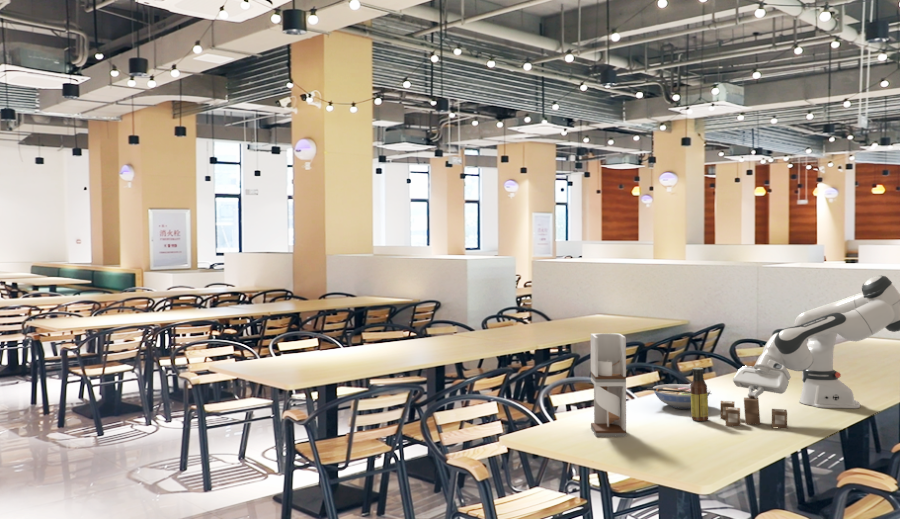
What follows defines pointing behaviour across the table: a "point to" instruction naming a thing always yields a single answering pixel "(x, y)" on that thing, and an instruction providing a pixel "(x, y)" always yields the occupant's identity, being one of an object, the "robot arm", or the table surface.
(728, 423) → the white-paneled wooden block
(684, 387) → the ramen bowl
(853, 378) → the table surface
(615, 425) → the spiral tower model
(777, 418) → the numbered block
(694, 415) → the sauce bottle
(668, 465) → the table surface
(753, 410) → the plain block
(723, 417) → the white paneled block
